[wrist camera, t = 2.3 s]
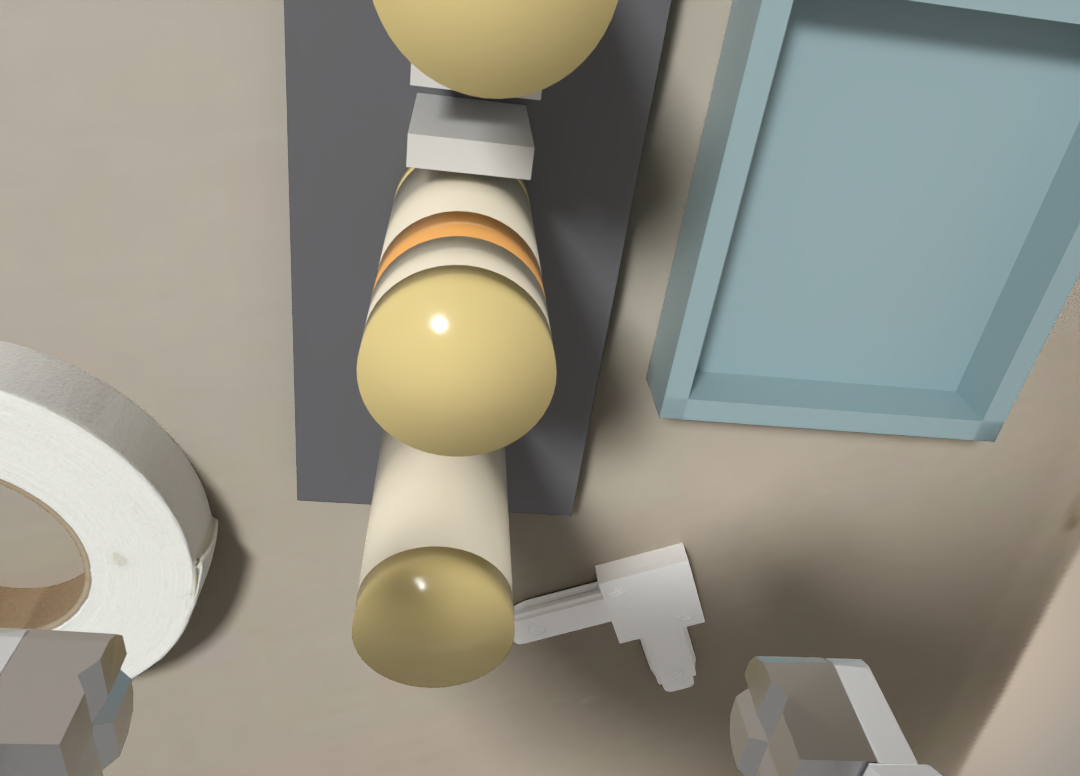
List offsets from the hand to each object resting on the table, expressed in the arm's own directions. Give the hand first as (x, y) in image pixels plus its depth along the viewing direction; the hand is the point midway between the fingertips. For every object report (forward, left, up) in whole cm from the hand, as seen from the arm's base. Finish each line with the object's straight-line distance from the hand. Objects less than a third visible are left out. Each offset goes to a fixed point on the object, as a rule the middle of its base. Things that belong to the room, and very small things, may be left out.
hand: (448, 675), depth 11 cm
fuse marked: (0, 0, -17) cm, 17 cm away
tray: (-1, +13, -18) cm, 22 cm away
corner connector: (+19, +8, -19) cm, 28 cm away
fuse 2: (+7, 0, -17) cm, 18 cm away
